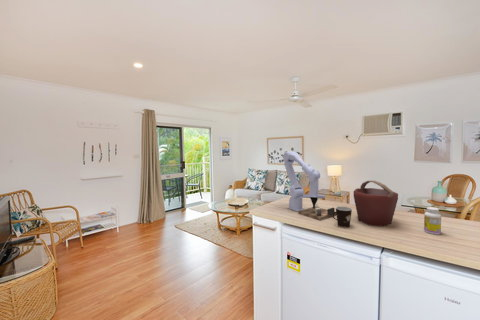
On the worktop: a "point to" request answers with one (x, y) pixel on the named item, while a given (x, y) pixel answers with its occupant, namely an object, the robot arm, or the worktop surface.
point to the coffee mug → (343, 216)
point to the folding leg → (316, 208)
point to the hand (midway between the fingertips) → (313, 208)
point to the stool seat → (318, 213)
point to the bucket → (375, 204)
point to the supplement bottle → (432, 221)
